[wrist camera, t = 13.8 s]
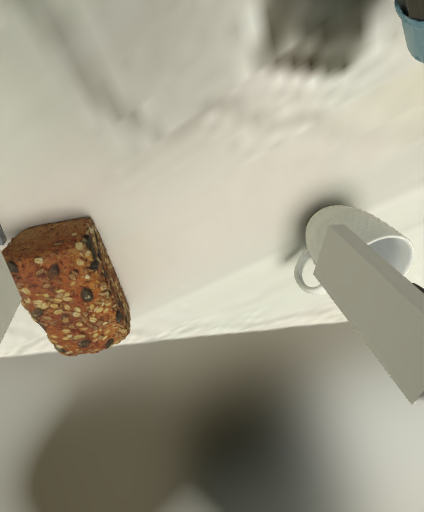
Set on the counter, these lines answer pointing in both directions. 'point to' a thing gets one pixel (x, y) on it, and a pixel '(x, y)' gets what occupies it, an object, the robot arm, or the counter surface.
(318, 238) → the mug
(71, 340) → the bread
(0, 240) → the post base
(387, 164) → the counter surface
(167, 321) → the counter surface
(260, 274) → the counter surface
